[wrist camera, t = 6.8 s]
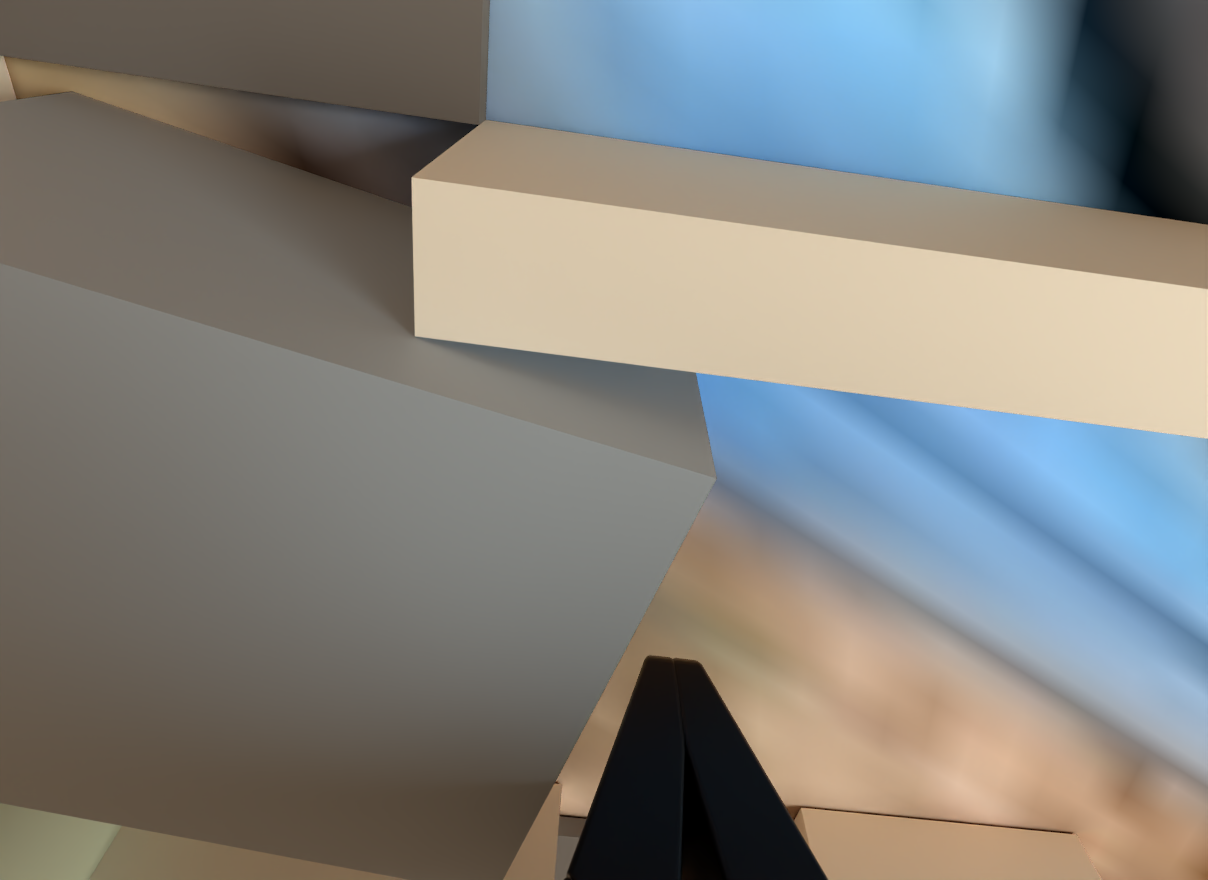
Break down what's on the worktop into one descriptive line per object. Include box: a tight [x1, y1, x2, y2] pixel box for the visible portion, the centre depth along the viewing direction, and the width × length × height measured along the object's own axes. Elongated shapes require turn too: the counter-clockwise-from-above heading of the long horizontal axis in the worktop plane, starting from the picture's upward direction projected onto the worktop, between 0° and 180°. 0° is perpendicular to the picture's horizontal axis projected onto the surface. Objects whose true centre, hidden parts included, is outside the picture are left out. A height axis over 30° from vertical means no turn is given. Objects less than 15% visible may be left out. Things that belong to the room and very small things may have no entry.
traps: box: [0, 0, 586, 880], centre depth 11 cm, size 6×22×1 cm, turn 16°
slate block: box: [0, 92, 717, 880], centre depth 8 cm, size 7×7×4 cm
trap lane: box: [0, 56, 1208, 880], centre depth 10 cm, size 20×13×3 cm
